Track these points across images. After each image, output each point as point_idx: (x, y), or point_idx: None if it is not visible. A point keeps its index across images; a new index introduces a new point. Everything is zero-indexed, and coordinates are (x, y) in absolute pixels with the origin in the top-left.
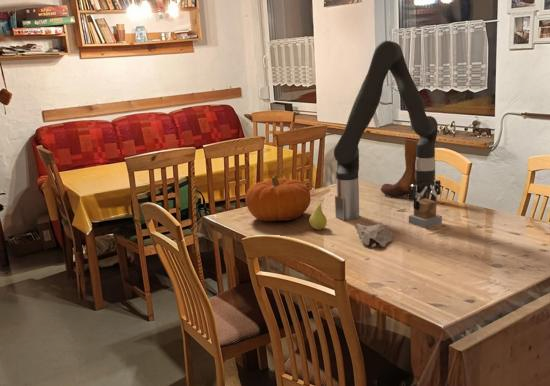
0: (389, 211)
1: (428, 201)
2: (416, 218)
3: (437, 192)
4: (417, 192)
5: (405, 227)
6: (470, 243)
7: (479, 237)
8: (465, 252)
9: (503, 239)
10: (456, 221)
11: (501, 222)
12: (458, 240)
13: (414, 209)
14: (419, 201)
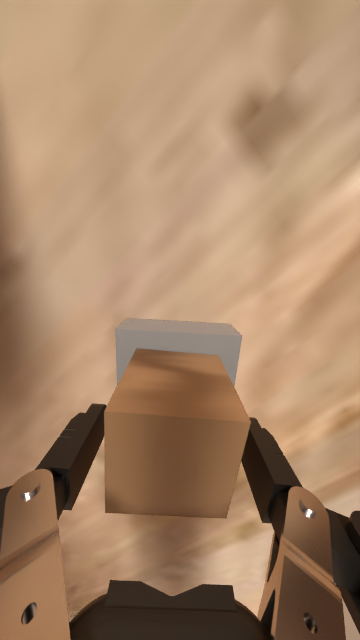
0: (199, 69)
1: (189, 486)
2: (117, 380)
3: (344, 587)
4: (43, 606)
5: (73, 349)
6: (129, 550)
7: (185, 541)
8: (69, 571)
9: (215, 574)
10: (273, 429)
11: (347, 513)
12: (122, 524)
13: (126, 370)
14: (132, 447)
